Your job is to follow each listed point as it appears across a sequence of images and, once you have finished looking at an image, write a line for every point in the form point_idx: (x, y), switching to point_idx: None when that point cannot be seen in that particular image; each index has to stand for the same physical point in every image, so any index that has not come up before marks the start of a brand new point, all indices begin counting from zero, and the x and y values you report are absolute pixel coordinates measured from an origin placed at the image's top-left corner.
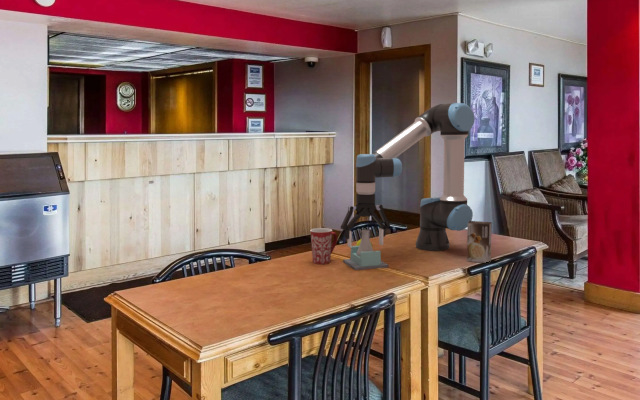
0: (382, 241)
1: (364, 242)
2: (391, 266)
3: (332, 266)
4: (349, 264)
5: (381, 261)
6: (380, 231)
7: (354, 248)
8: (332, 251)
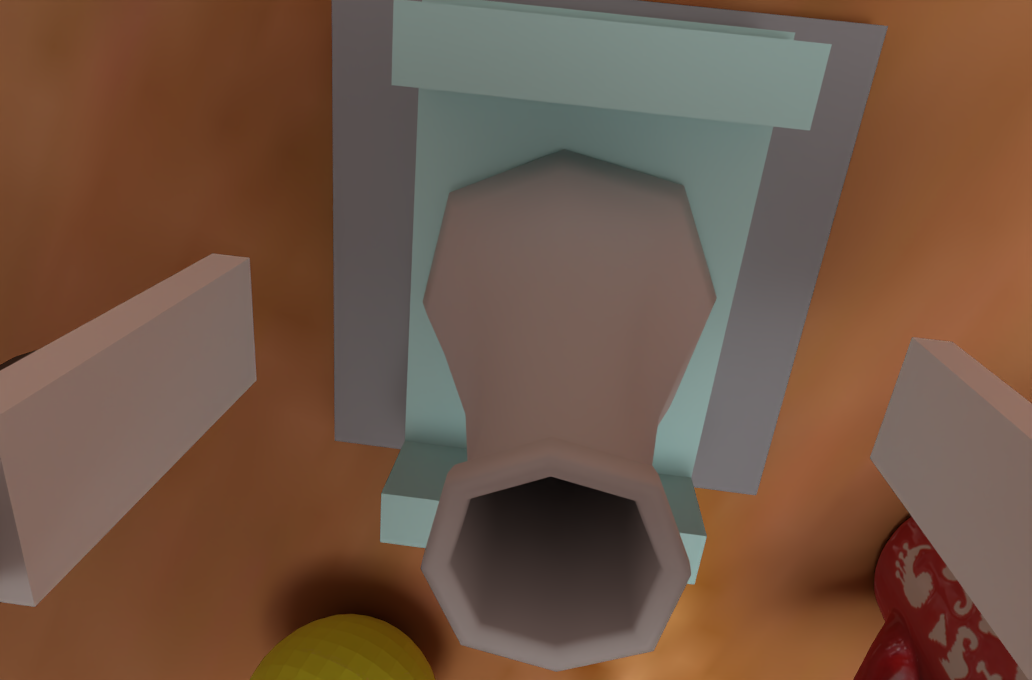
0: (190, 278)
1: (639, 319)
2: (279, 11)
3: (1006, 346)
4: (816, 267)
5: (346, 205)
6: (74, 463)
7: None
8: (862, 664)
